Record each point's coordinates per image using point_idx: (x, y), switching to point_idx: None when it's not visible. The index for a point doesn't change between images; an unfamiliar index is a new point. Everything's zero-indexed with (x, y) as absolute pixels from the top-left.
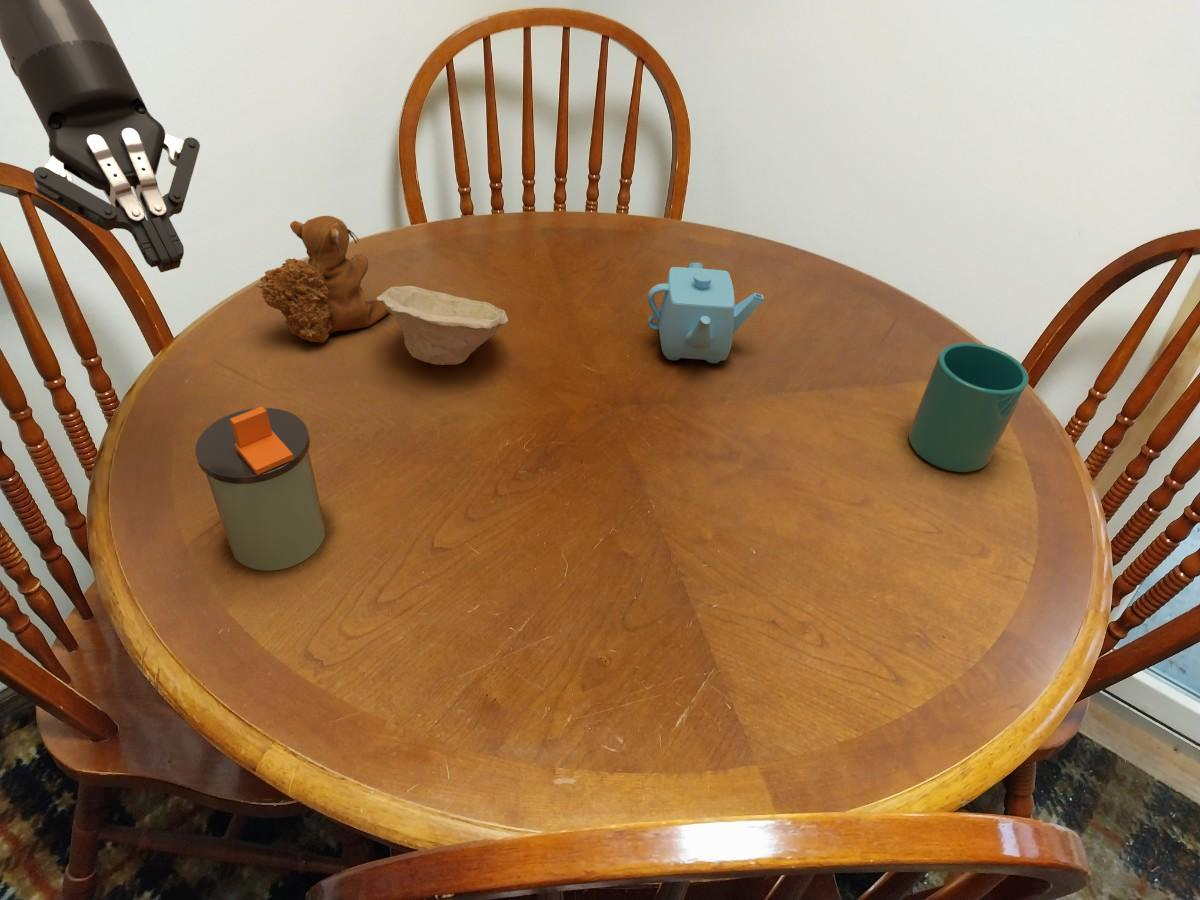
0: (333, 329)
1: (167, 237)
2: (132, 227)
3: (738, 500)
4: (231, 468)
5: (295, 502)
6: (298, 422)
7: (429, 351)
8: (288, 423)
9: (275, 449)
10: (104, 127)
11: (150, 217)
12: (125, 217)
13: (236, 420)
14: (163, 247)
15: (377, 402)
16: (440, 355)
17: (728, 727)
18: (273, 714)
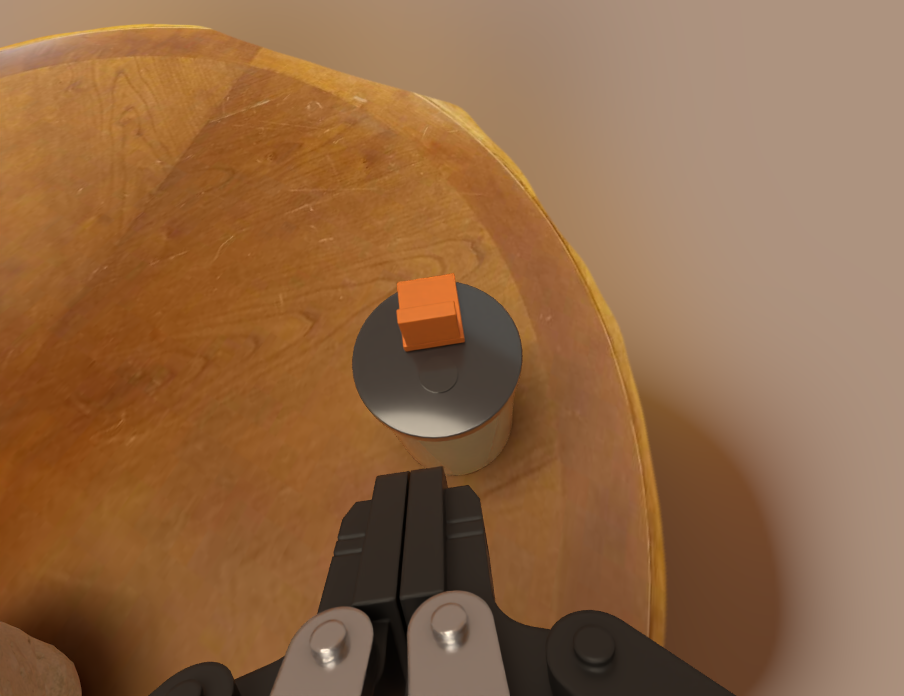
0: None
1: (376, 525)
2: (493, 599)
3: (27, 242)
4: (482, 309)
5: None
6: (359, 365)
7: (54, 660)
8: (373, 369)
9: (414, 301)
10: None
11: (390, 660)
12: (509, 644)
13: (447, 304)
14: (412, 496)
15: (210, 639)
16: (48, 647)
17: (241, 88)
18: (526, 218)
